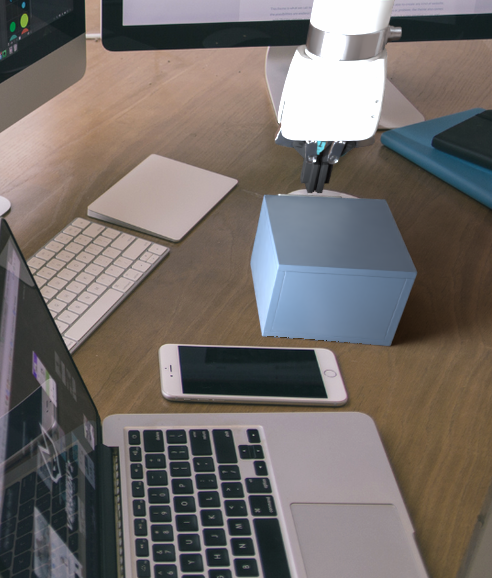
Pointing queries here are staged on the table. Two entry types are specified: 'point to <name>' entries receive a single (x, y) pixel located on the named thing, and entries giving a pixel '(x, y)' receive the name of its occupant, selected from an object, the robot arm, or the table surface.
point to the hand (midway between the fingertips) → (312, 187)
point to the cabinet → (330, 269)
